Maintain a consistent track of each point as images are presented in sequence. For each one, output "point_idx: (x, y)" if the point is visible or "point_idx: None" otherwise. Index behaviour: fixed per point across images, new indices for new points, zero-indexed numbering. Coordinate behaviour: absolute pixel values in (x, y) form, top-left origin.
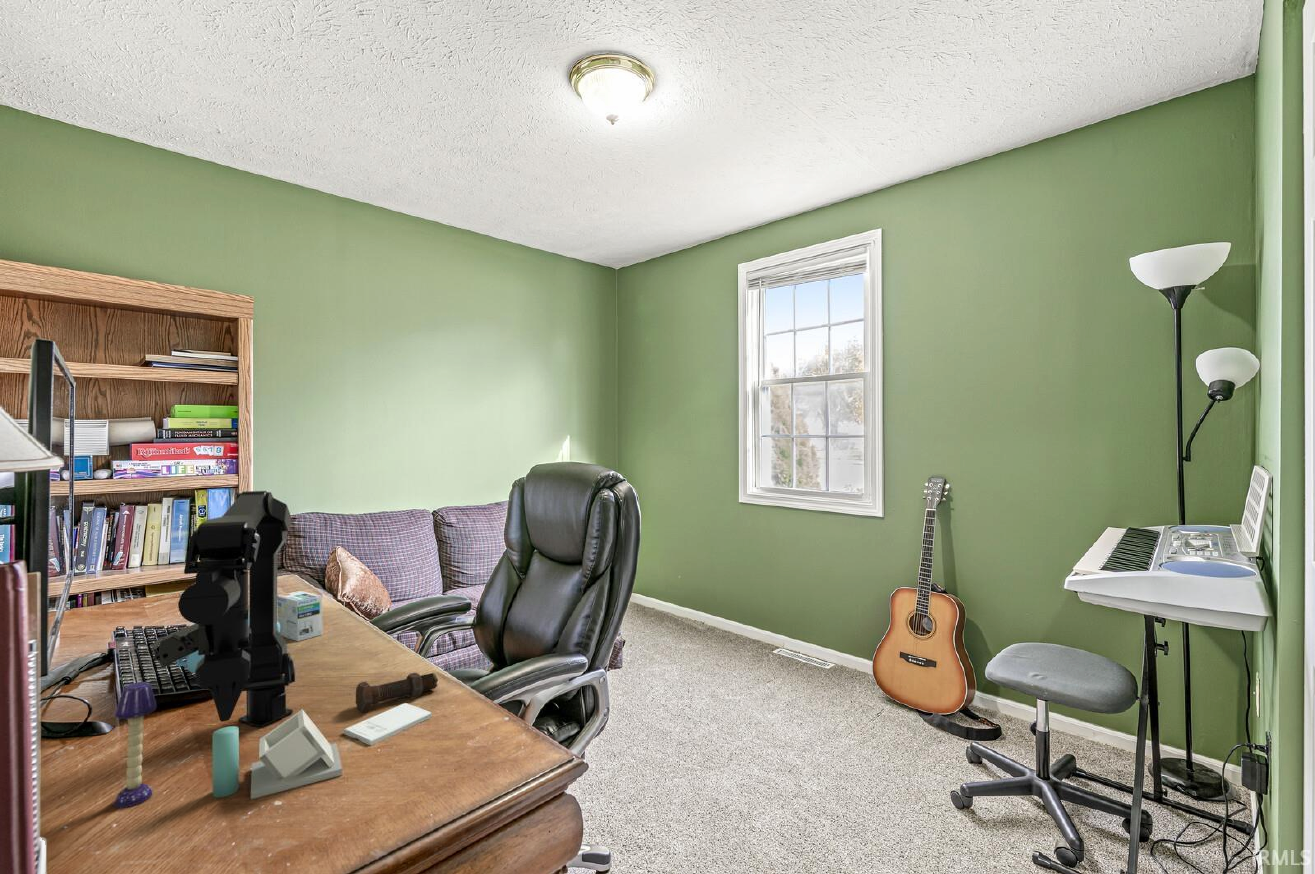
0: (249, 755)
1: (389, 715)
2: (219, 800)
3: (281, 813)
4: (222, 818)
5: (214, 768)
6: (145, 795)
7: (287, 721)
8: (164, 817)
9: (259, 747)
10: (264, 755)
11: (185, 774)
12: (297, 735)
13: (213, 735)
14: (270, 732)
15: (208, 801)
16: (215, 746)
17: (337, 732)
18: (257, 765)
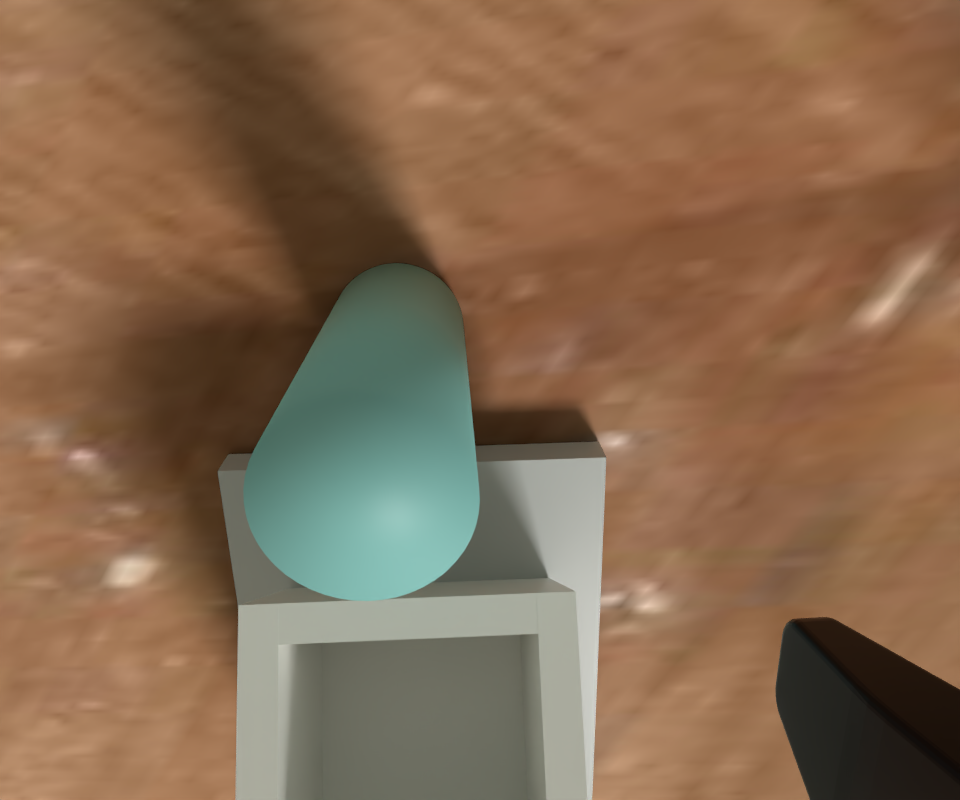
0: (805, 417)
1: None
2: (299, 304)
3: (10, 586)
4: (75, 335)
5: (334, 319)
6: None
7: None
8: (234, 17)
9: (423, 597)
10: (238, 639)
11: (789, 71)
12: None
13: (310, 402)
14: (562, 678)
15: (317, 247)
16: (292, 385)
17: (782, 796)
18: (555, 485)
